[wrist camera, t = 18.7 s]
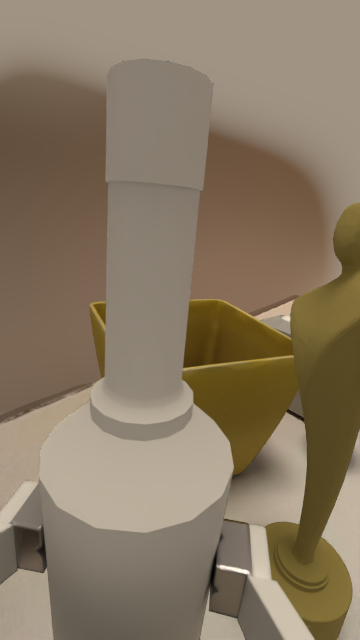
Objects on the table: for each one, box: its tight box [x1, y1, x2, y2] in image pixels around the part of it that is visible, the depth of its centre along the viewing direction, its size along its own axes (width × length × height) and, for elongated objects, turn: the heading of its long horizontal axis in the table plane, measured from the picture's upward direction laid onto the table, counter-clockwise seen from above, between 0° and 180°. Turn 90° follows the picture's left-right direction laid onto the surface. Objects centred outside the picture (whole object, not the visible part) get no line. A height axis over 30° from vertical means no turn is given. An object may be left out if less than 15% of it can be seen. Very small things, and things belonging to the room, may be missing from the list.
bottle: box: [39, 59, 234, 640], centre depth 10 cm, size 5×5×25 cm
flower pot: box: [90, 299, 299, 475], centre depth 38 cm, size 19×19×17 cm
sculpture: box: [265, 203, 360, 640], centre depth 21 cm, size 11×7×30 cm, turn 23°
